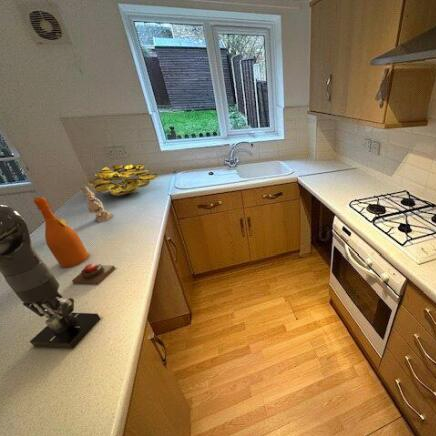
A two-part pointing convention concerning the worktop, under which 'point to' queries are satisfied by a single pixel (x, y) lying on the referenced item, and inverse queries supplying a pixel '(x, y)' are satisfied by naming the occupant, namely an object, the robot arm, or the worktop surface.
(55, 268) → the worktop surface
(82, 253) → the wine bottle
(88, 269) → the button
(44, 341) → the panel
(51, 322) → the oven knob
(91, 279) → the button block
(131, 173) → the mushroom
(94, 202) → the figurine
